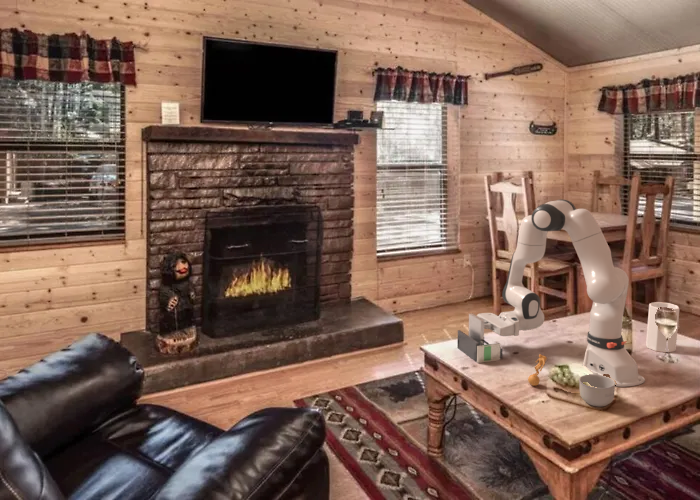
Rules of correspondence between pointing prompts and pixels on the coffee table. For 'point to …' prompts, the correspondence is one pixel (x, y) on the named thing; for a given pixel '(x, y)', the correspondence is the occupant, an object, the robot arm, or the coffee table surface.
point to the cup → (654, 336)
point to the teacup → (597, 389)
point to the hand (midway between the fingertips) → (478, 325)
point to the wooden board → (476, 329)
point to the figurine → (534, 378)
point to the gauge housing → (478, 349)
